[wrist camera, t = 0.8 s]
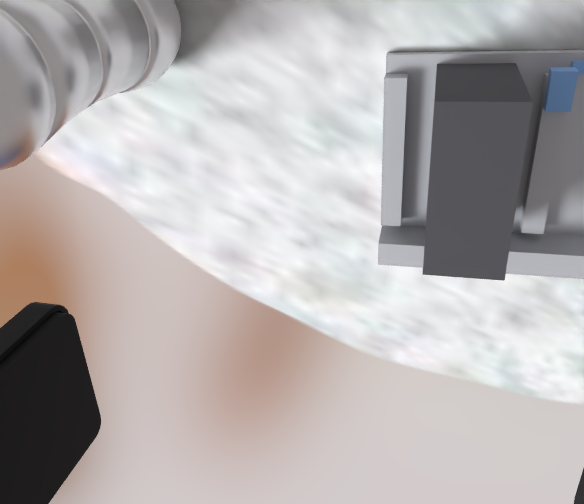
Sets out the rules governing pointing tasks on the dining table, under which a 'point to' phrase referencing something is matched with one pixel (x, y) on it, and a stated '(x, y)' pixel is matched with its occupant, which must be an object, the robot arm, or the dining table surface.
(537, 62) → the grey tray
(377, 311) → the dining table surface
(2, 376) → the robot arm
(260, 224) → the dining table surface
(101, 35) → the plastic bottle
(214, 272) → the dining table surface
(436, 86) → the dark gray block
